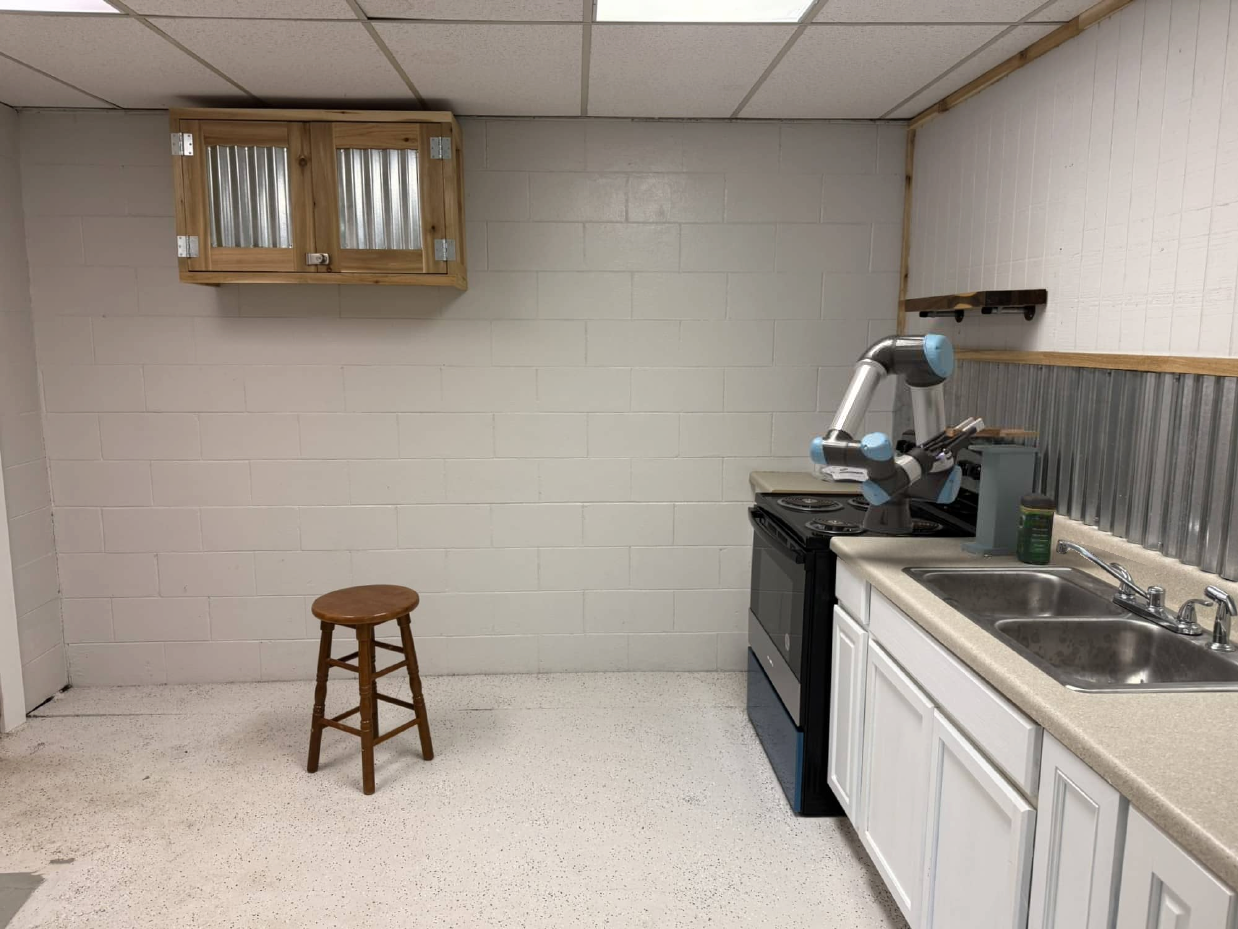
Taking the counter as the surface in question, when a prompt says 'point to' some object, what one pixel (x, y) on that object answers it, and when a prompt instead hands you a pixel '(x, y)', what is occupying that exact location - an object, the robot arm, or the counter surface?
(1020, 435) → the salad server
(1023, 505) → the coffee jar
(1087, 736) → the counter surface
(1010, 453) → the stand
